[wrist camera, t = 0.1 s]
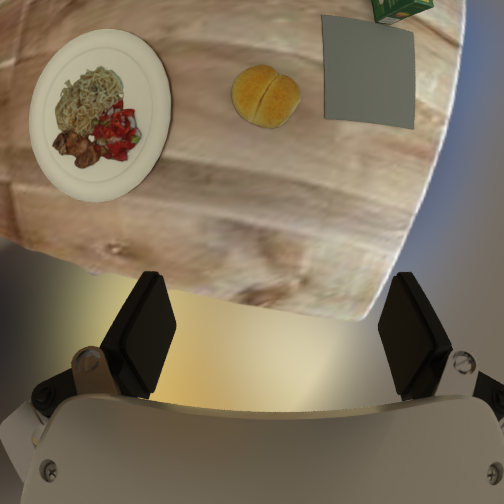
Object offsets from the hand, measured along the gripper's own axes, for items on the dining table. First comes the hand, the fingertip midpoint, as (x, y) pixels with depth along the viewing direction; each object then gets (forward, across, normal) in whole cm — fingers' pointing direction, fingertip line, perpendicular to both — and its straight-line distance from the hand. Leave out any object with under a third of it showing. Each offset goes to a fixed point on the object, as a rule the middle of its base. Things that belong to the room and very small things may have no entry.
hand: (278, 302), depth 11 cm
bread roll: (+32, +1, -8) cm, 33 cm away
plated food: (+32, +29, -9) cm, 44 cm away
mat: (+31, -14, -13) cm, 37 cm away
